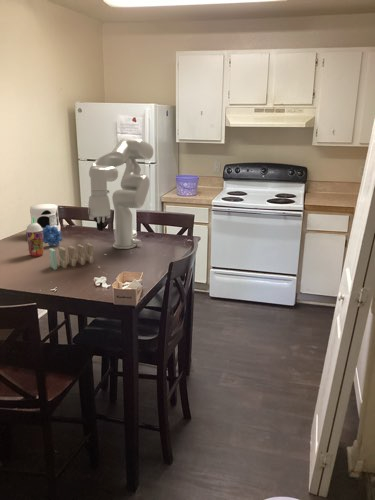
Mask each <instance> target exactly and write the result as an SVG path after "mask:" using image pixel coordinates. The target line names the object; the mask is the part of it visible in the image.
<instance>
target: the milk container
mask: <svg viewBox="0 0 375 500" xmlns="http://www.w3.org/2000/svg"><path fill="white" fill-rule="evenodd" d="M29 207H30V209H29V211H30V224H31V223H33V217H34V223H38V224H39V225H40V226H41V227H42V228H45V227H46V226H47V225H49V226H50V227H51V228H52V227H53V226H54V227H56V228H57V231H60V232H61V224H60V220H59V212H58V205H57V204H53V203H39V204H32V205H30V206H29ZM45 229H46V228H45Z"/></svg>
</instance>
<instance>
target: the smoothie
mask: <svg viewBox="0 0 375 500" xmlns="http://www.w3.org/2000/svg"><path fill="white" fill-rule="evenodd" d="M25 234H26V241H27V245H28V251H29V255H30V256H31V257H32V258H38V257H41V256H43V254H44V242H43V239H44V238H43V229H42V227H41V226H40V225H39V224H38V223H34V217H33V223H31V222H30V223H29V224H28V225H27V226H26V229H25Z"/></svg>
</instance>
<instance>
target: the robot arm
mask: <svg viewBox="0 0 375 500" xmlns="http://www.w3.org/2000/svg"><path fill="white" fill-rule="evenodd" d="M153 156H154V147H153V146H152V145H151V144H150V143H149V142H147V141H145V140H143V139H140V138H122V139H120V141H119V142H118V143H117V144H116V145H115V147H114V148H113V149H112V150H111V151H110V152H108V153H106V154H104V155H102V156H100V157H98V158H96V160H94V162H93V163H92V164H91V166H90V167H89V170H88V171H89V172H88V176H89V178H90V196H89V197H88V203H87V204H88V209H87V214H88V219H89V220H91V221H95V223H96V230H97V231H99V232H102V231H104V229H105V228H104V224H105V221H106V220H108V219H110V218H111V202H110V198H109V196H108V194H110V190H108V189H107V188H108V187H107V185H108V184H107V183H108V182H114V181H116V180H117V179H118V177H119V171H118V169H117V167H120V166H122V165H124V164H125V168H124V172H123V175H122V177H121V179H120V188H121V189H116V190H115V191H113V193H112V196H111V197H112V199H111V200H112V204H113V210H114V228H115V229H114V230H115V231H114V232H115V234H114V235H115V242H114V243H113V244H112V247H113V248H114V249H119V250H128V249H129V250H130V249H133V248H136V246H137V244H142V241H141V239H135V238H134V236H133V235H134V232H133V213H132V211H131V209H142V208H143V207H144V205H145V201H146V198H147V195H148V192H149V191H150V190H149V189H150V179H149V177H148V176H147V175H146V174H142V173H141V166H140V164H139V163H138V161H137V160H146V161H147V160H151V159H152V158H153Z"/></svg>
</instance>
